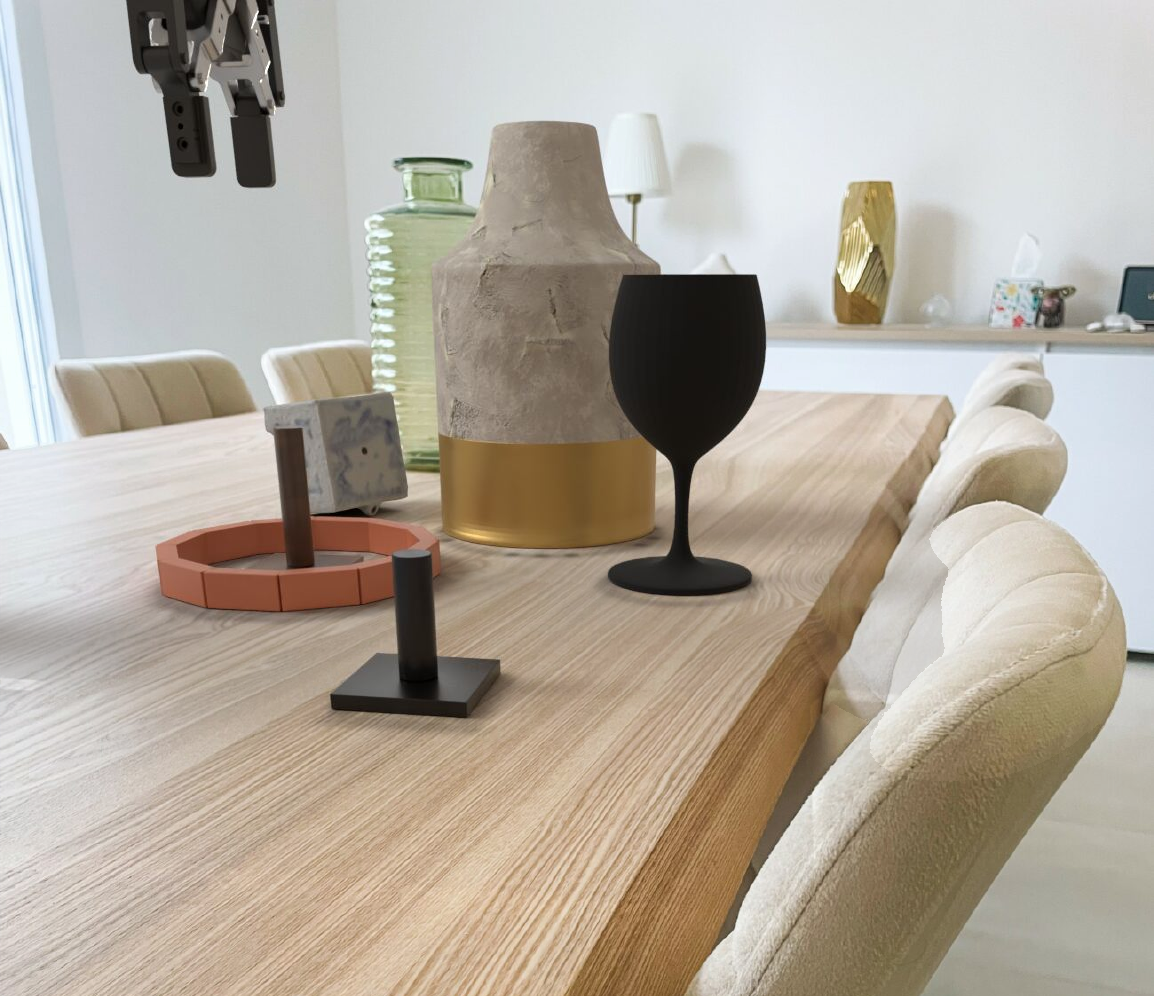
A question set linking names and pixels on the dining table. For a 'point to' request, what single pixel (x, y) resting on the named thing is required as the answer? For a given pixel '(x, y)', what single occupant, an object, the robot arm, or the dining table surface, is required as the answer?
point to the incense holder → (347, 450)
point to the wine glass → (685, 397)
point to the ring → (287, 588)
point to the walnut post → (296, 508)
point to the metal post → (416, 657)
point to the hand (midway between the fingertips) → (228, 182)
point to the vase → (538, 354)
